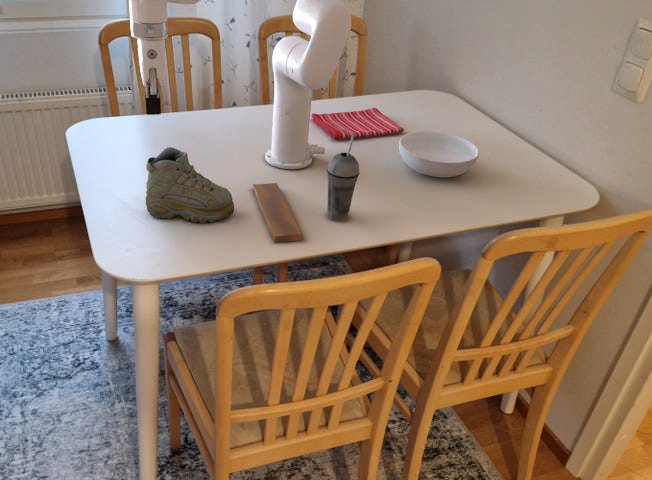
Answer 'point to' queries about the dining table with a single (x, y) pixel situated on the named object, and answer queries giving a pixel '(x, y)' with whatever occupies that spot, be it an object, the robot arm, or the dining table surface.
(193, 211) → the sneaker
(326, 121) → the dish towel
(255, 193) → the oak board
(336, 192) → the beverage cup
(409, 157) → the serving bowl
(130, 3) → the robot arm
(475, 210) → the dining table surface
